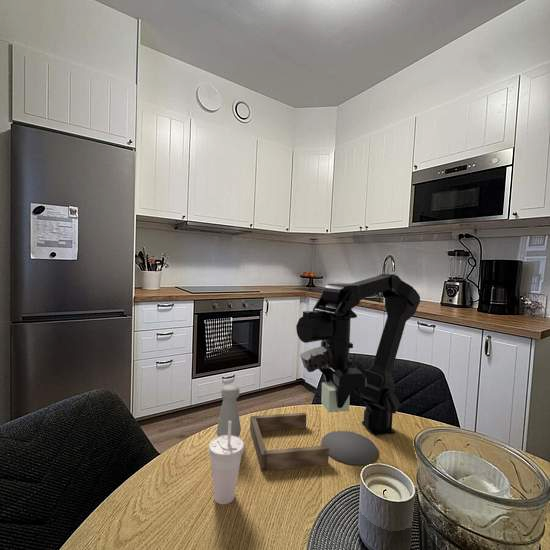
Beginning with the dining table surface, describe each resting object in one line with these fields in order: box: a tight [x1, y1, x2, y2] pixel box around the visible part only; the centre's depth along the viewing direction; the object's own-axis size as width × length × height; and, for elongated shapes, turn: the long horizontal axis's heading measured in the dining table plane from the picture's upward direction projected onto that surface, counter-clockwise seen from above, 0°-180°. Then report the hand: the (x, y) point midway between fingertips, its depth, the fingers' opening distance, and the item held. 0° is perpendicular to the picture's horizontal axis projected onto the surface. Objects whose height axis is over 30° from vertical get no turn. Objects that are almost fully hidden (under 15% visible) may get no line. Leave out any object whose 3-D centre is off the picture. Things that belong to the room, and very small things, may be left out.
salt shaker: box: [215, 384, 242, 438], centre depth 74 cm, size 6×6×13 cm
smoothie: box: [207, 421, 245, 505], centre depth 56 cm, size 6×6×14 cm
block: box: [320, 381, 351, 413], centre depth 73 cm, size 5×5×5 cm
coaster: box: [320, 430, 379, 466], centre depth 73 cm, size 13×13×1 cm
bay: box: [249, 412, 330, 472], centre depth 73 cm, size 15×16×4 cm
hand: (335, 402), depth 73 cm, fingers closed on block, 5 cm apart
